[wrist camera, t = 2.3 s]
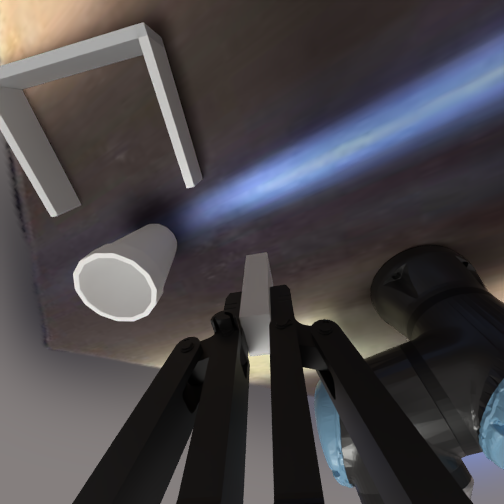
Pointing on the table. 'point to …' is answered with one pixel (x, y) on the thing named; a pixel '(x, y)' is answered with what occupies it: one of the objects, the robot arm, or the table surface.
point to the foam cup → (127, 273)
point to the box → (70, 63)
